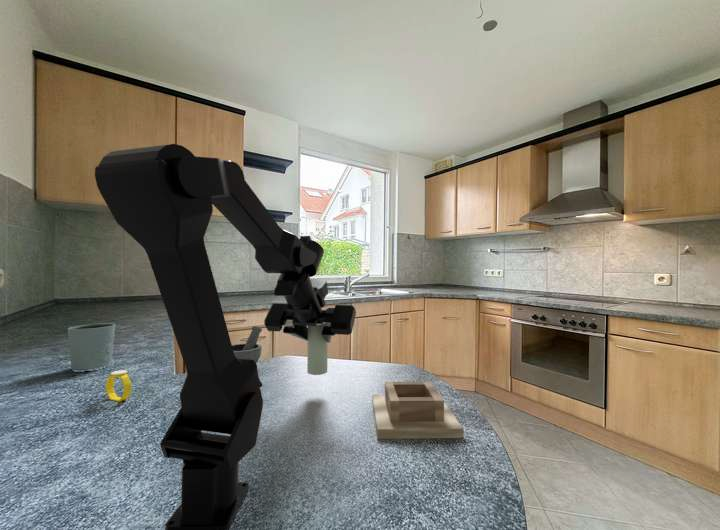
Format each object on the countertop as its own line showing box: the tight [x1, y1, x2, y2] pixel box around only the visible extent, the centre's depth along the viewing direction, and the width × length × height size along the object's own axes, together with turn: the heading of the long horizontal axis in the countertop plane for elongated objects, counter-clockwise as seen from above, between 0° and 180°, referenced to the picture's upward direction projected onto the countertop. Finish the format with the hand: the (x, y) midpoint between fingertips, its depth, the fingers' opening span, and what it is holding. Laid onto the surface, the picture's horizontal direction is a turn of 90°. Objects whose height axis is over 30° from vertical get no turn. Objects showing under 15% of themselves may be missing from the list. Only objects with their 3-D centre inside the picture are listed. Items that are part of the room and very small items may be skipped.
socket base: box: [371, 381, 464, 440], centre depth 55 cm, size 14×14×5 cm
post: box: [306, 324, 329, 376], centre depth 66 cm, size 4×4×13 cm
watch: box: [105, 369, 132, 403], centre depth 63 cm, size 6×3×6 cm, turn 71°
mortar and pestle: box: [232, 325, 263, 364], centre depth 81 cm, size 11×9×12 cm
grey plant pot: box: [67, 322, 116, 370], centre depth 85 cm, size 10×10×12 cm
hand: (319, 340), depth 67 cm, fingers closed on post, 4 cm apart
